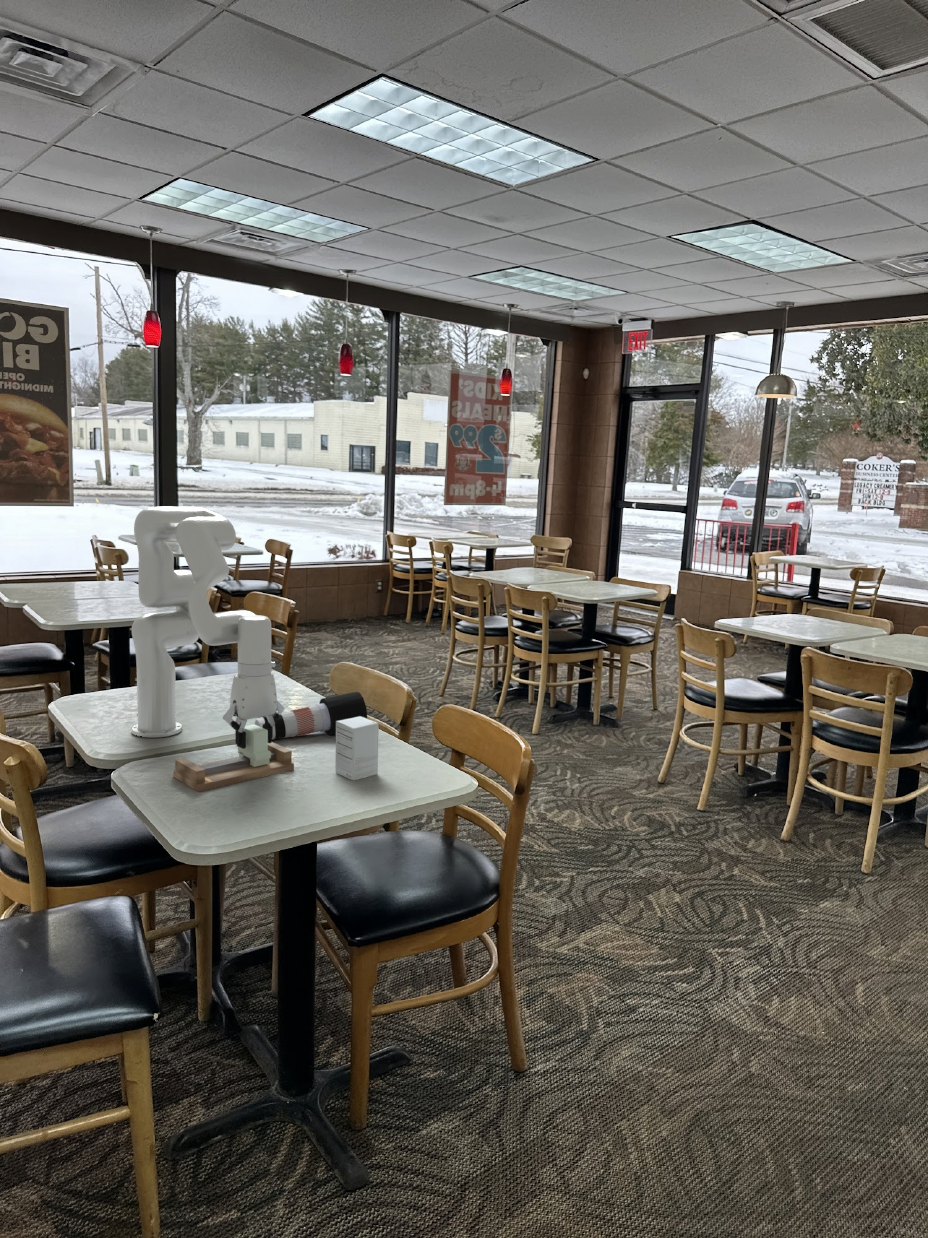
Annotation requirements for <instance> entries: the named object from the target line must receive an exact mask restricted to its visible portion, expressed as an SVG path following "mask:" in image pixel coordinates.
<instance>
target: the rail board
mask: <svg viewBox="0 0 928 1238" xmlns="http://www.w3.org/2000/svg"><path fill="white" fill-rule="evenodd" d="M268 751H270V752H271V758H269V764H265V765H261V766H256V767H253V766H251V765H250V758H248V757H246V756H245V757H241V758H239V756H234V757H231V758H227V759H221V760H217V761H211V762H207V763H203V764H195V763H194V762H192V761H190V760H188V759H186V758H185V757H181V758H176V759H175V760H174V761H175V763H174V764H175V766H174V767H175V769H174V770H173V771H172V772H173V777H174V778H175V779H176V780H178V781H180V782H182V783H183V784H185V785H187V786H188V787H190V788H191V789H193V790H195V791H196V792H199V793H200V792H205V791H209V790H211V789H216V788H221V787H224V786H229V785H234V784H239V783H242V782H247V781H251V780H256V779H260V778H263V777H268V776H272V775H277V774H279V773H280V774H282V773H285V772H288V771H293V770H294V769H295V763H294V762H292V759H293V757H292V756H293V754H292V753H293V751H292V750H290V749H289V748H286V747H284V746H282V745H279V744H277V743H275V742H273V741H272V743H268Z"/></svg>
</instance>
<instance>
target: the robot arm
mask: <svg viewBox="0 0 928 1238" xmlns="http://www.w3.org/2000/svg"><path fill="white" fill-rule="evenodd" d="M133 525H134V526H133V533H134V539H135V542H136V547H137V552H138V598H139V601H140V604H141V605H142V606H143V607H145V608H148V609H163V608H174V607H175V610H171V611H159V612H151V613H146V614H141V615H140V616H138V617H137V618H136V619H135V620H134V621H133V623H132V625H131V636H132V641H133V645H134V650H135V651H134V652H135V660H136V662H135V663H136V693H137V694H136V695H137V696H136V698H137V700H136V701H137V702H136V703H137V706H136V707H137V714H136V716H137V724H135V725H133V726H132V727H131V733H132V735H134V736H136V735H137V736H136V737H140V736H142V737H141V738H149V739H150V738H152V739H153V738H154V739H155V738H163V737H164V738H165V737H171V736H175V735H177V734H179V733H181V732H182V730H183V725H182V724H181V723H180V722H178V721H177V717H176V716H177V714H176V713H177V705H176V703H177V701H176V699H177V697H176V696H177V695H176V694H177V692H176V691H177V690H176V687H177V686H176V685H177V684H176V664H175V661H174V659H173V658H172V657H171V655H170V654H169V652H168V650H167V649H170V648H179V647H184V646H190V645H193V644H194V643H196V642H197V641H198V640H199V638H200V640H201V641H202V642H203V643H205V645H207V646H222V645H230V644H237V674H235V675H234V676H233V680H232V683H231V689H230V699H229V708H228V710H227V711H226V712H225V713H224V714H223V716H222V720H223V721H225V722H226V723H227V724H228V725H229V726H230V727H231V728H232V729H233V730H235V732H234V733H235V745H236V746H237V748H238V747H240V748H242V749H244V748H246V732H245V731H244V728H245V726H247V722H248V721H249V720H253V719H261V718H263V720H264V722H265V724H263V726H262V728H264V729H266V730H268V743H272V742H273V740H272V737H273V726H274V725H275V722H276V721H277V719H278V718H279V715H281V713H284V711H285V707H284V705H283V704H281V702H280V701H278V697H277V687H276V680H275V676H274V673H272V669H273V668H276V665H277V664H276V662H275V661H272V620H271V619H270V618H269V617H268V616H266V615H259V614H258V615H257V614H255V613H254V612H252V611H250V610H244V609H241V610H240V609H239V610H228V611H218V612H213V610H212V607H211V605H210V603H209V600H208V596H207V594H208V592H207V591H208V590H210V589H211V588H213V587H215V586H217V585H219V584H220V583H221V582H223V581H224V580H225V579H226V578H227V577H228V575H229V574H230V567H229V565H228V563H227V561H226V558H225V556H224V554H223V551H228V550H231V549H232V548H233V547H234V546H235V544H236V539H237V533H236V530H235V528H234V525H233V524H232V522H231V521H230V520H229V519H228V518H227V517H225V516H223V515H222V514H221V515H220V514H219V513H216V512H213V511H212V510H209V509H206V508H203V507H197V506H153V507H146V508H145V509H143V510H141V511H139V512H138V514H137V515H136V518H135V520H134V524H133ZM167 541H169V542H170V541H172V542H173V541H175V542H178V544H179V545H178V546H179V548H180V549H181V552H182V555H183V557H184V559H185V561H186V564H187V566H188V569H189V570H187V569H175V568H174V567H175V566H174V565H175V558H174V557H175V555H174V552H173V550H172V548H171V547H170V545H169V543H168V542H167ZM233 717H235V720H234V719H233Z"/></svg>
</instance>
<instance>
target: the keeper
mask: <svg viewBox="0 0 928 1238" xmlns="http://www.w3.org/2000/svg"><path fill="white" fill-rule="evenodd" d="M244 731H245V732H246V748H244V749H242V748H240V747H238V746H237V753H238V754H239V755H238V757H239V758H241V757H245V756H246V757H248V758H250V765H251V766H253V767H256V766H261V765H265V764H269V758H271V752H270V751H268V730H266V729H264V728H262V727H259V726H257V725H255V723H254V724H249V725H245V728H244Z"/></svg>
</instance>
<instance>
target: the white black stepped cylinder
mask: <svg viewBox="0 0 928 1238" xmlns="http://www.w3.org/2000/svg"><path fill="white" fill-rule="evenodd" d="M359 716H361V717H364V718H366V719H368V711H367V705H366V702H365V699H364V697H363V695H362V693H361V692H360V691H352V692H348V693H342V694H337V695H332V696H328V697H323V698H321V699H320V700H319V703H317V704H314V705H311V706H307V707H302V708H297V709H292V710H290V711H288V712H282V713H281V715H279V718H278V719H277V721H276V722H275V725H274V726H273V737H272V741H273V740H274V741H275V740H280V739H286V738H291V737H292V738H293V737H301V736H304V735H305V736H306V735H309V734H314V733H320V732H321V733H322V732H325V733H326V734H327V735H328V736H329V735H330V736H331V735H336V721H340V720H345V719H350V718H355V717H359ZM254 724H255V725H257V726H259V727H262V726H263V724H265V722H264V720H263V717H260V718H255V721H254Z"/></svg>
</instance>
